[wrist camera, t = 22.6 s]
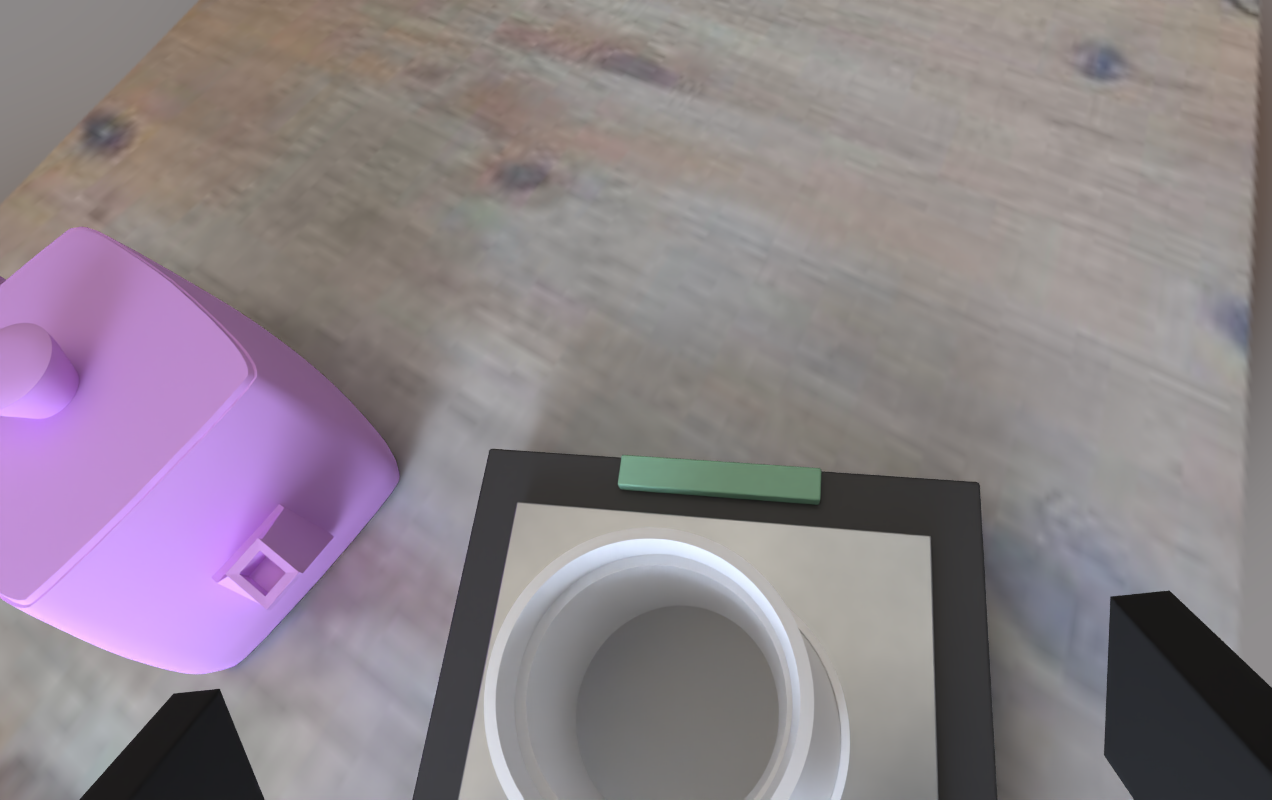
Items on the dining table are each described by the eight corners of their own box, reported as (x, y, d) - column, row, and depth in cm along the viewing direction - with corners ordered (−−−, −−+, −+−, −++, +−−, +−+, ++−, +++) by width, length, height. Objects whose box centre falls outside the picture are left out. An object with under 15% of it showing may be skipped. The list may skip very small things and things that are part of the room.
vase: (801, 953, 18) (837, 1132, 9) (510, 821, 20) (305, 861, 11) (877, 632, 21) (963, 525, 12) (614, 546, 23) (517, 398, 14)
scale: (957, 512, 25) (985, 473, 22) (983, 1104, 19) (1026, 1170, 16) (515, 478, 28) (483, 440, 25) (412, 984, 22) (352, 1020, 19)
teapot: (504, 519, 27) (374, 392, 18) (287, 783, 25) (6, 788, 16) (209, 288, 34) (5, 110, 25) (12, 475, 31) (-298, 352, 22)
